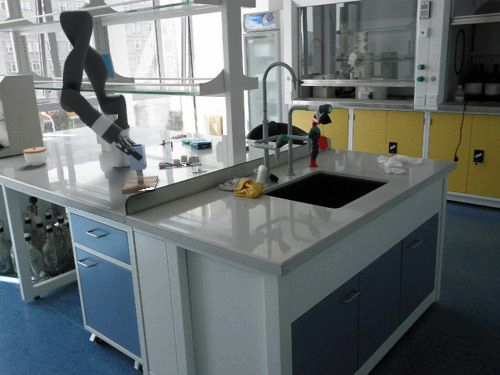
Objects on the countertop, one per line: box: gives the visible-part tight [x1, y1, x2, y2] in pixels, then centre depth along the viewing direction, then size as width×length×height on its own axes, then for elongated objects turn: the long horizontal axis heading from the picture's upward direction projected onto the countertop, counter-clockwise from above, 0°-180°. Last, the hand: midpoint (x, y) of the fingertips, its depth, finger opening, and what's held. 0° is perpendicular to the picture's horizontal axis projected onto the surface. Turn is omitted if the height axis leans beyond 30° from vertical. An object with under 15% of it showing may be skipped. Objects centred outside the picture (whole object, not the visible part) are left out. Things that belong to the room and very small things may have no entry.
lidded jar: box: [22, 145, 48, 167], centre depth 231 cm, size 11×11×9 cm
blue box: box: [128, 143, 148, 171], centre depth 179 cm, size 6×6×9 cm
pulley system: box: [158, 154, 201, 168], centre depth 208 cm, size 27×5×15 cm
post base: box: [121, 170, 159, 194], centre depth 182 cm, size 16×12×9 cm
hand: (142, 157), depth 180 cm, fingers closed on blue box, 5 cm apart
